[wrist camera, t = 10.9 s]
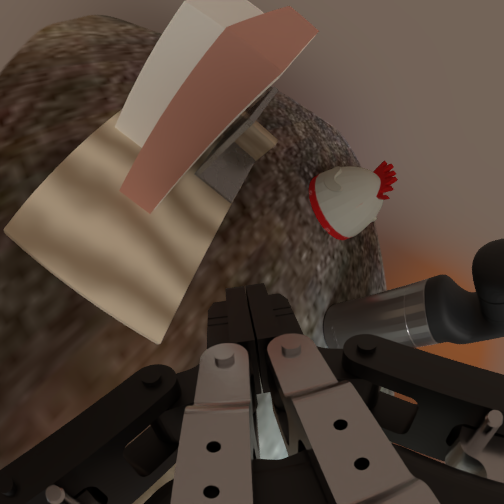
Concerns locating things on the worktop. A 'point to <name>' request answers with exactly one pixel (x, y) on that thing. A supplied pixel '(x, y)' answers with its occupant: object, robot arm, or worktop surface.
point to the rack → (124, 228)
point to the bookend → (231, 156)
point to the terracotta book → (215, 99)
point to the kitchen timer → (349, 198)
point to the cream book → (177, 60)
